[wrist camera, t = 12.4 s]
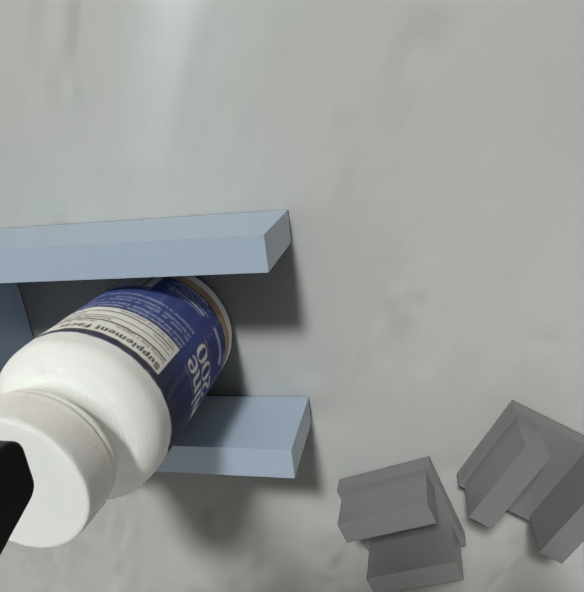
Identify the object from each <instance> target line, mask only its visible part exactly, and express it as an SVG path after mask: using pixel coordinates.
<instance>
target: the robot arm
mask: <svg viewBox="0 0 584 592" xmlns="http://www.w3.org/2000/svg"><path fill="white" fill-rule="evenodd" d="M33 491H34V480H33V477H32V474H31V471H30V468H29V465H28V462H27V458H26V455H25V452H24V449H23V447H22V446H21V445H20V444H19V443H18V442H16V441H1V440H0V554H1V553H2V551H3V549H4V547H5V545H6V543H7V542H8V540H9V538H10V536H11V534H12V532H13V531H14V529H15V527H16V525H17V523H18V521H19V520H20V518H21V516H22V514H23V512H24V510H25V508H26V507H27V505H28V503H29V501H30V499H31V497H32V494H33Z"/></svg>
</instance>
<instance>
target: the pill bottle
mask: <svg viewBox="0 0 584 592" xmlns="http://www.w3.org/2000/svg"><path fill="white" fill-rule="evenodd" d="M231 339H232V329H231V324H230V320H229V317H228V314H227V312H226V310H225V308H224V306H223V304H222V303H221V301H220V300H219V298H218V297H217V296H216V294H215V293H214V292H213V291H212V290H211V289H210V288H209V287H208V286H207V285H206V284H204V283H203V282H202V281H200V280H199V279H197V278H196V277H194V276H169V277H144V278H124V279H123V280H121V281H119V282H118V283H116V284H115V285H113V286H112V287H110V288H109V289H107V290H106V291H104V292H103V293H101V294H100V295H99V296H97V297H96V298H94V299H92V300H91V301H90V302H88V303H87V304H85V305H84V306H82V307H81V308H79V309H78V310H76V311H75V312H73V313H72V314H70V315H69V316H67V317H66V318H64V319H63V320H62V321H60V322H59V323H57V324H56V325H54V326H53V327H51V328H50V329H48V330H47V331H45V332H44V333H42V334H41V335H39V336H38V337H36V338H35V339H33V340H32V341H30V342H29V343H28V344H26V345H25V346H24V347H22V348H21V349H20V350H19V351H17V352H16V353H15V354H14V355H13V356H12V357H11V358H10V359H9V361H8V362H7V363H6V365H5V366H4V367H3V369H2V371H1V373H0V440H1V441H16V442H18V443H19V444H20V445H21V446H22V447H23V449H24V452H25V455H26V458H27V462H28V465H29V468H30V471H31V474H32V477H33V480H34V491H33V494H32V497H31V499H30V501H29V503H28V505H27V507H26V508H25V510H24V512H23V514H22V516H21V518H20V520H19V521H18V523H17V525H16V527H15V529H14V531H13V532H12V534H11V536H10V538H9V541H11V542H15V543H18V544H21V545H25V546H29V547H36V548H49V547H56V546H61V545H63V544H66V543H68V542H70V541H71V540H73V539H74V538H75V537H77V536H78V535H79V534H80V533H81V532H82V531H83V530H84V529H85V528H86V526H87V525H88V524H89V523H90V521H91V520H92V519H93V518H94V516H95V515H96V514H97V513H98V511H99V510H100V509H101V508H102V506H103V505H104V504H105V502H106V501H107V500H108V499H113V498H117V497H121V496H123V495H126V494H128V493H130V492H132V491H134V490H136V489H137V488H139V487H140V486H141V485H143V484H144V483H145V482H146V481H147V480H148V479H149V478H150V477H151V476H152V475H153V474H154V472H155V471H156V470H157V468H158V467H159V466H160V465H161V464H162V462H163V460H164V459H165V457H166V456H167V454H168V453H169V451H170V449H171V448H172V446H173V445H174V443H175V442H176V440H177V438H178V437H179V435H180V434H181V432H182V431H183V429H184V428H185V426H186V425H187V423H188V422H189V420H190V419H191V417H192V416H193V415H194V413H195V411H196V410H197V408H198V406H199V405H200V403H201V402H202V400H203V399H204V397H205V395H206V394H207V392H208V391H209V389H210V388H211V386H212V385H213V383H214V382H215V380H216V378H217V377H218V375H219V374H220V372H221V370H222V368H223V366H224V365H225V363H226V361H227V359H228V356H229V353H230V349H231Z"/></svg>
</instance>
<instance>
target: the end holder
mask: <svg viewBox="0 0 584 592" xmlns="http://www.w3.org/2000/svg"><path fill="white" fill-rule="evenodd" d="M290 243H291V233H290V224H289V215H288V210H276V211H260V212H245V213H230V214H215V215H200V216H185V217H169V218H154V219H139V220H124V221H109V222H94V223H79V224H63V225H48V226H33V227H18V228H3V229H0V373H1V371H2V369H3V367H4V366H5V365H6V363H7V362H8V361H9V359H10V358H11V357H12V356H13V355H14V354H15V353H16V352H17V351H19V350H20V349H21V348H22V347H24V346H25V345H26V344H28V343H29V342H30V341H32V340H33V339H34V338H33V335H32V331H31V328H30V325H29V321H28V318H27V314H26V311H25V308H24V304H23V301H22V297H21V294H20V291H19V287H18V284H17V283H18V282H44V281H69V280H94V279H119V278H144V277H169V276H194V275H219V274H245V273H269V271H270V270H271V269H272V267H273V266H274V265H275V263H276V262H277V261H278V259H279V258H280V257H281V255H282V254H283V253H284V251H285V250H286V249H287V247H288V246H289V245H290ZM310 425H311V415H310V405H309V397H263V396H205V397H204V399H203V400H202V402H201V403H200V405H199V406H198V408H197V410H196V411H195V413H194V415H193V416H192V417H191V419H190V420H189V422H188V423H187V425H186V426H185V428H184V429H183V431H182V432H181V434H180V435H179V437H178V438H177V440H176V442H175V443H174V445H173V446H172V448H171V449H170V451H169V453H168V454H167V456H166V457H165V459H164V460H163V462H162V464H161V465H160V466H159V467H158V468H157V470H156V471H155V472H172V473H193V474H215V475H236V476H257V477H278V478H295V476H296V473H297V469H298V466H299V463H300V459H301V456H302V452H303V449H304V446H305V442H306V439H307V435H308V432H309V429H310Z"/></svg>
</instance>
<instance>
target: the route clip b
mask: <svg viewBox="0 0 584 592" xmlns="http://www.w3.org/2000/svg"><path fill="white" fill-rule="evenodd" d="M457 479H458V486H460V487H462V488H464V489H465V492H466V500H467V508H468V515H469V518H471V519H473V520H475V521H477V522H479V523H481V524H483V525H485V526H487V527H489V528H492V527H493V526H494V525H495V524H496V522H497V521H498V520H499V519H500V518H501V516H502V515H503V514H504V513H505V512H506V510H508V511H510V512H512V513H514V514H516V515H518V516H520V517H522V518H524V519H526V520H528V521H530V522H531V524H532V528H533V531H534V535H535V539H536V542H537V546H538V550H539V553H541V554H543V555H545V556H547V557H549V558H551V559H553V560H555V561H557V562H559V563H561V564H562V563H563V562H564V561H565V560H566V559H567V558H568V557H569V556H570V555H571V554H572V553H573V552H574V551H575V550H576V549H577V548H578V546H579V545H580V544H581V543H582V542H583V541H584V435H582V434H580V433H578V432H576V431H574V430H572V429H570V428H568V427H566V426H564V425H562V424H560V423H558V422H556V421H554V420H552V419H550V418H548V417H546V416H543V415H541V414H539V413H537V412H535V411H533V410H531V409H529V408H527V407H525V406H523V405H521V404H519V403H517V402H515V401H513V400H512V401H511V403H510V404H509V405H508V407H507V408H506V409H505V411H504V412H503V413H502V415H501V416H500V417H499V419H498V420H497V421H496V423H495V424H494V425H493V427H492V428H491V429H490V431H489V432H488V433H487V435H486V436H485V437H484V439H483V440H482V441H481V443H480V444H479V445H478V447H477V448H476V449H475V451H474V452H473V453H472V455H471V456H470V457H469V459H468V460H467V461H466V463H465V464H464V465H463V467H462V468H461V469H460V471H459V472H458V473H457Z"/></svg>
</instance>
